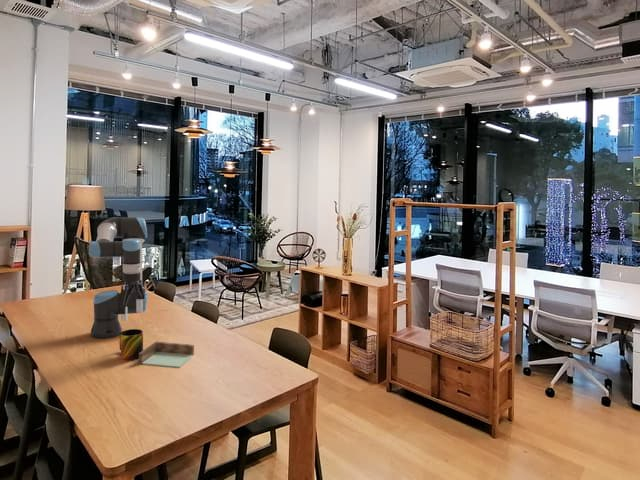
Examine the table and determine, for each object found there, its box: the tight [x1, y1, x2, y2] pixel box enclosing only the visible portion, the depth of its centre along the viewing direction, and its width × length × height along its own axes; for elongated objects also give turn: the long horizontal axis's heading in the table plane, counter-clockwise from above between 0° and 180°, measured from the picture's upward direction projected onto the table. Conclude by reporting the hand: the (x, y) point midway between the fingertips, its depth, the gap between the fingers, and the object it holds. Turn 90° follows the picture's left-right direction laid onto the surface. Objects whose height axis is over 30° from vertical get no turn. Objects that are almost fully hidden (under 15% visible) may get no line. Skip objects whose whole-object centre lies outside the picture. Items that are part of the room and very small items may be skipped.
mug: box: [119, 328, 144, 362], centre depth 200 cm, size 10×14×12 cm
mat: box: [141, 352, 194, 369], centre depth 199 cm, size 18×14×1 cm
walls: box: [138, 341, 195, 365], centre depth 199 cm, size 20×16×5 cm
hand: (132, 316), depth 200 cm, fingers open, 13 cm apart
